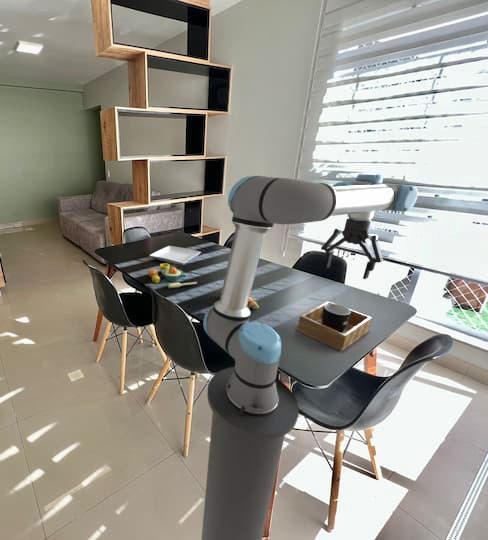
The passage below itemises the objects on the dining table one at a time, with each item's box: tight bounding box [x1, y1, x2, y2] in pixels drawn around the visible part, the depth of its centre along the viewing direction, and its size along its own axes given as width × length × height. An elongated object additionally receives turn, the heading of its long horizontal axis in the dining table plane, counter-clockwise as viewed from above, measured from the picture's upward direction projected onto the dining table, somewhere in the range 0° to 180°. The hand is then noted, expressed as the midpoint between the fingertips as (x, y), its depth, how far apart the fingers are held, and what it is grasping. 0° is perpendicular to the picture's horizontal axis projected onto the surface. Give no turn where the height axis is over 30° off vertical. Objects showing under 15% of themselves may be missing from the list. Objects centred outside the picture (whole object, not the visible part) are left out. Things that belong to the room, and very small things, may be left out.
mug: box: [322, 303, 351, 333], centre depth 115 cm, size 12×9×10 cm
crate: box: [296, 300, 373, 352], centre depth 116 cm, size 22×17×7 cm
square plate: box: [149, 245, 202, 266], centre depth 202 cm, size 27×27×4 cm
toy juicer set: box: [148, 262, 198, 289], centre depth 164 cm, size 29×18×8 cm, turn 36°
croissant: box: [218, 290, 259, 310], centre depth 139 cm, size 21×10×8 cm, turn 46°
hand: (345, 272), depth 112 cm, fingers open, 13 cm apart
